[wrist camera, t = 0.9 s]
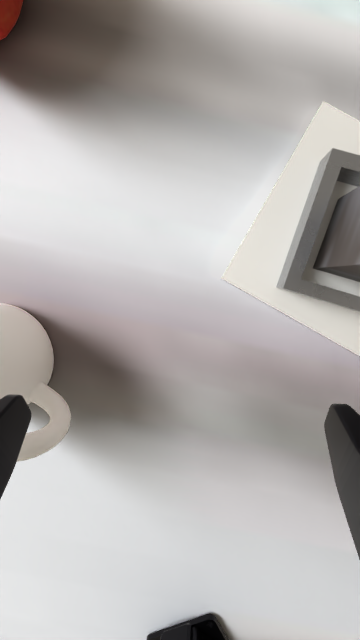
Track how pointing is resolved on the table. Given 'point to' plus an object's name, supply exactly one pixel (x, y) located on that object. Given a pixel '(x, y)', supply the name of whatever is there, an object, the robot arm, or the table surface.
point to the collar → (328, 172)
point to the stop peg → (342, 239)
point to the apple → (9, 15)
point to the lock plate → (279, 228)
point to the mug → (31, 376)
